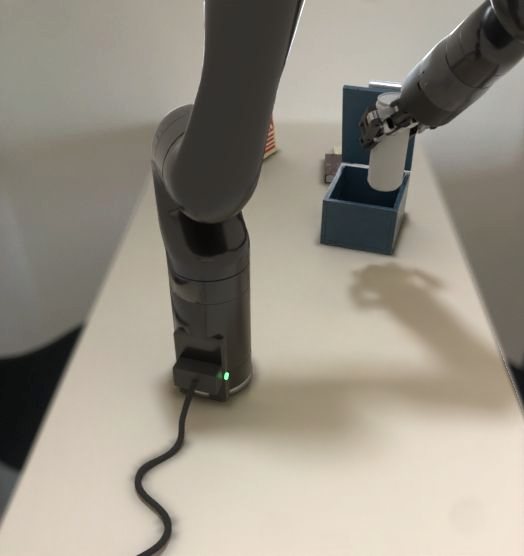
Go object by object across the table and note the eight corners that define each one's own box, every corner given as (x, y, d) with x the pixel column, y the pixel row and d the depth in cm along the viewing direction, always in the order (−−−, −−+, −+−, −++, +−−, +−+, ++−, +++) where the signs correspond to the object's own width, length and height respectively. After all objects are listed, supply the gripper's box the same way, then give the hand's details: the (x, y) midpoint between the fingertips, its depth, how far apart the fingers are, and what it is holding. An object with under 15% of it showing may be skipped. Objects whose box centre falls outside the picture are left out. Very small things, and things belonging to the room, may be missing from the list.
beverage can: (400, 177, 96) (413, 92, 88) (402, 193, 92) (415, 106, 85) (366, 176, 96) (376, 91, 89) (367, 191, 93) (376, 104, 85)
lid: (420, 96, 99) (425, 75, 102) (342, 87, 102) (349, 67, 104) (410, 171, 111) (415, 151, 114) (341, 161, 114) (348, 142, 116)
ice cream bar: (325, 150, 136) (324, 185, 125) (325, 142, 135) (324, 176, 124) (351, 151, 136) (352, 186, 125) (352, 143, 135) (353, 178, 123)
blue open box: (391, 255, 107) (397, 211, 102) (319, 243, 110) (322, 199, 104) (404, 214, 117) (410, 172, 112) (338, 204, 119) (341, 162, 114)
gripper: (492, 39, 78) (417, 107, 94) (386, 54, 74) (326, 123, 90) (511, 100, 78) (433, 158, 94) (406, 120, 74) (343, 176, 90)
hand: (381, 140), depth 92 cm, fingers closed on beverage can, 5 cm apart
